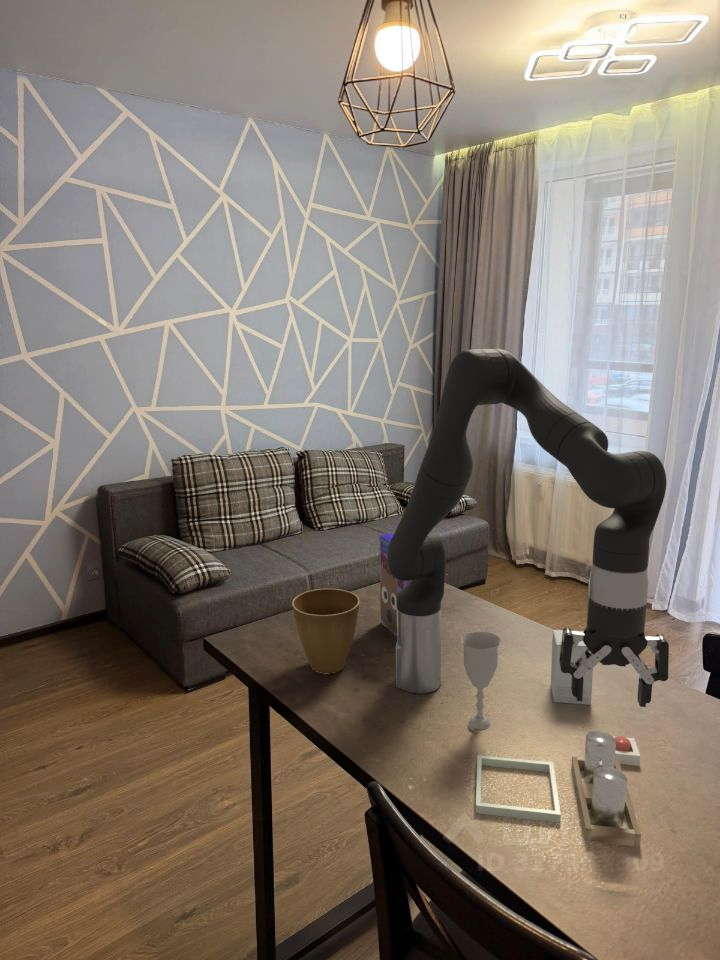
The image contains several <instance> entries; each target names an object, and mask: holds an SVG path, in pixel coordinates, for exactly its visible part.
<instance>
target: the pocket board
mask: <svg viewBox="0 0 720 960" xmlns="http://www.w3.org/2000/svg"><path fill="white" fill-rule="evenodd" d="M584 762H585V756H584V757H583V756H573V755H572V756H571V771H572V777H573V782H574V787H575V788H574V789H575V793H576V798H577V804H578V809H579V813H580V814H579V815H580V820H581V825H582V830H583V831H582V832H583V837H584V841H587V842H596V843H603V844H610V845H611V844H612V845H622V846H629V847H637V848H640V847H641V840H642V839H641V838H642V833H641V829H640V827H639V824H638V819H637V816H636V814H635V810H634V806H633V803H632V800H631V797H630V794H629V790H628V786H627V785H626V797H625V809H624V821H623V828H615V827H606V826H597V825H591V822H590V819H591V805H592V791H593V784H589V783H584V782H583V781H584ZM614 768H615V769H617V770H619V771H621V772H622V773H623V770H622V769H623V768H622V766H621V764H620V763H619V761H616V760H615V766H614Z"/></svg>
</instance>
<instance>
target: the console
mask: <svg viewBox="0 0 720 960" xmlns="http://www.w3.org/2000/svg"><path fill="white" fill-rule="evenodd" d="M612 736H613V737H614V738H615V737H616V736H614V735H612ZM624 737H625V736H624ZM625 738H627V739H628V740H629V741H630V752H627V751H615V760H616V761H619V763H620V765H628V766H639V767H640V766H641V753H640V750H639V747H638V744H637V743H636V739H635V737H625Z"/></svg>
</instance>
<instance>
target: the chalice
mask: <svg viewBox="0 0 720 960" xmlns="http://www.w3.org/2000/svg"><path fill="white" fill-rule="evenodd" d="M460 641H461V643H462V645H463V666H464V669H465V672H466V675H467V676H468V679H469V681H470V682H471V684H472V686H473V687H475V688H477V692H476V694H475V698H476V699H477V702H476V703H475V707H476V709H477V712H476V713H474V714H473V715H471V717H470V718H469V721H468V723H467V727H468V729H469V730H471V731H472V732H475V729H476V730H487V729H488V728H490V727H491V725H492V723H491V720H490V718H489V717H488V716H487V715H486V714H484V708H485V706H486V705H485V703H484V698H485V694H484V691H483V690H484V689H485V688H487V687H488V686H489V684H490V682H491V681H492V679H493V677H494V675H495V673H496V670H497V667H498V663H499V662H498V660H499V659H498V658H499V654H498V653H499V651H498V650H499V646H500V644H501V642H502V640H501V638H500V637H499V636H498V635H497V634H494V633H491V632H486V631H473V632H469V633H466V634H464V635H463V636H462V637H461V639H460Z"/></svg>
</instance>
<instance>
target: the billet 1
mask: <svg viewBox="0 0 720 960" xmlns="http://www.w3.org/2000/svg"><path fill="white" fill-rule="evenodd" d="M613 736H614V735H611V734H610V733H609V732H608V733H607V732H605V731H599V730H592V731H589V732H588V733H586V735H585V744H584V745H585V746H584V747H585V748H584V758H585V762H584V781H583V782H584V783H589V784H593V777H594V771H595V769H597V768H599V767H612V768H614V766H615V751H616V740H615V738H614V737H615V736H614V737H613Z"/></svg>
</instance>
